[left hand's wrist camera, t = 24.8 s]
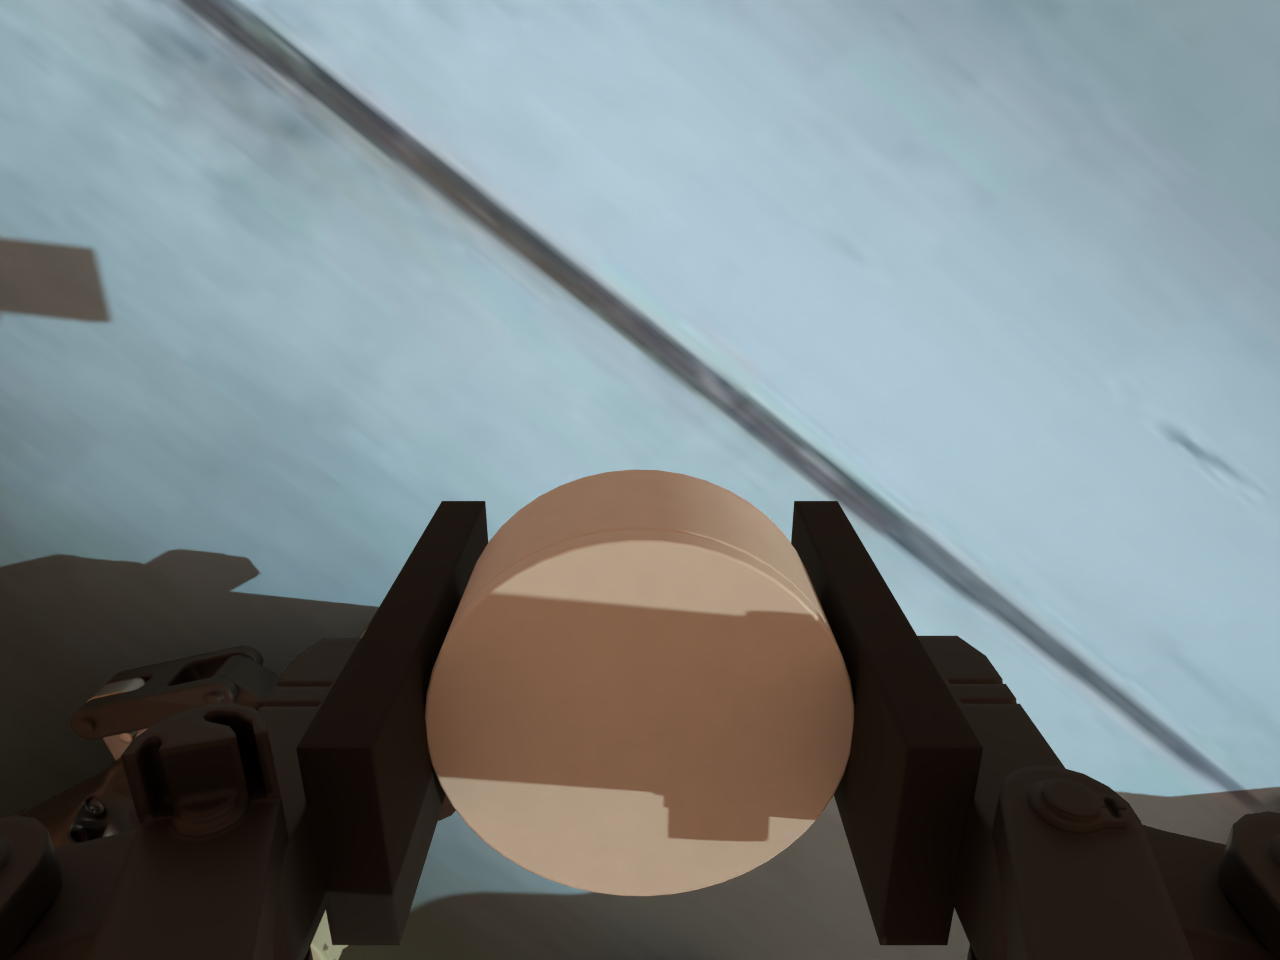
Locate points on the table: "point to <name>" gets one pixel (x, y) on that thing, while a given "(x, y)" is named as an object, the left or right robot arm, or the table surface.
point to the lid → (639, 688)
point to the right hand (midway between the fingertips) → (422, 720)
